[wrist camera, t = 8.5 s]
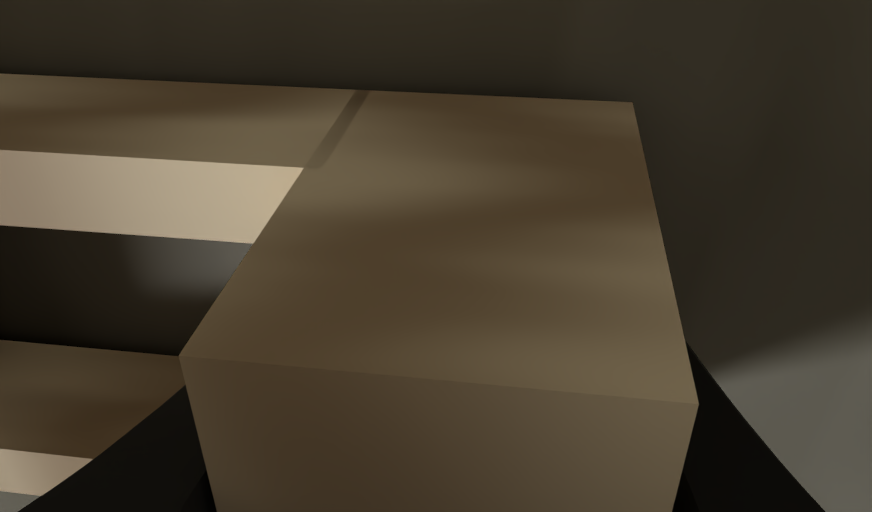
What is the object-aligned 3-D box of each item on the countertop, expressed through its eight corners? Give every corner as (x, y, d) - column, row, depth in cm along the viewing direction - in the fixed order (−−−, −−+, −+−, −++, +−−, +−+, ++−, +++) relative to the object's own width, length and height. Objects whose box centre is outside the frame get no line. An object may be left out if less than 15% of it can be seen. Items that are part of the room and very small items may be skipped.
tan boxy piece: (649, -21, 9) (748, 203, 4) (576, 497, 14) (583, 866, 9) (-241, -45, 10) (-908, 102, 6) (-20, 432, 15) (-279, 720, 10)
